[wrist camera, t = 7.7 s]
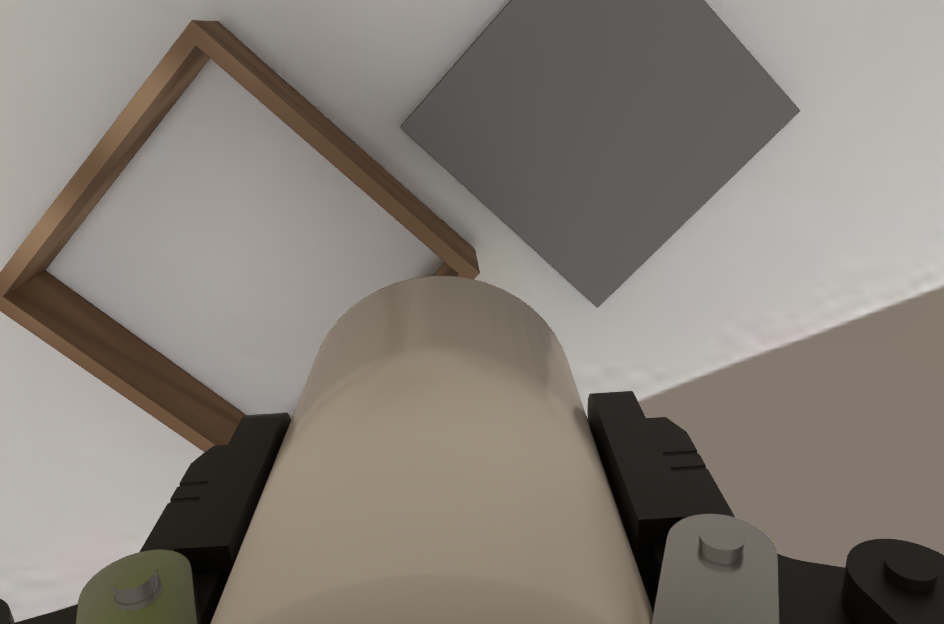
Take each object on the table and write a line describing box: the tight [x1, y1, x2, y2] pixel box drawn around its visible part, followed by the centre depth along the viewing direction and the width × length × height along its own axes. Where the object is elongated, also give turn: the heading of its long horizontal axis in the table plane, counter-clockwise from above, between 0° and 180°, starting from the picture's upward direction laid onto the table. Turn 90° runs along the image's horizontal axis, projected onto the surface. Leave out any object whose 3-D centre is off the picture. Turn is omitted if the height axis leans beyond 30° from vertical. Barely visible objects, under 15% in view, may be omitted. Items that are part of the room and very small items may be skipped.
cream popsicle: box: [211, 276, 653, 624], centre depth 11 cm, size 7×5×8 cm
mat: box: [401, 0, 800, 308], centre depth 32 cm, size 12×12×1 cm
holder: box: [0, 20, 480, 452], centre depth 32 cm, size 14×14×4 cm
